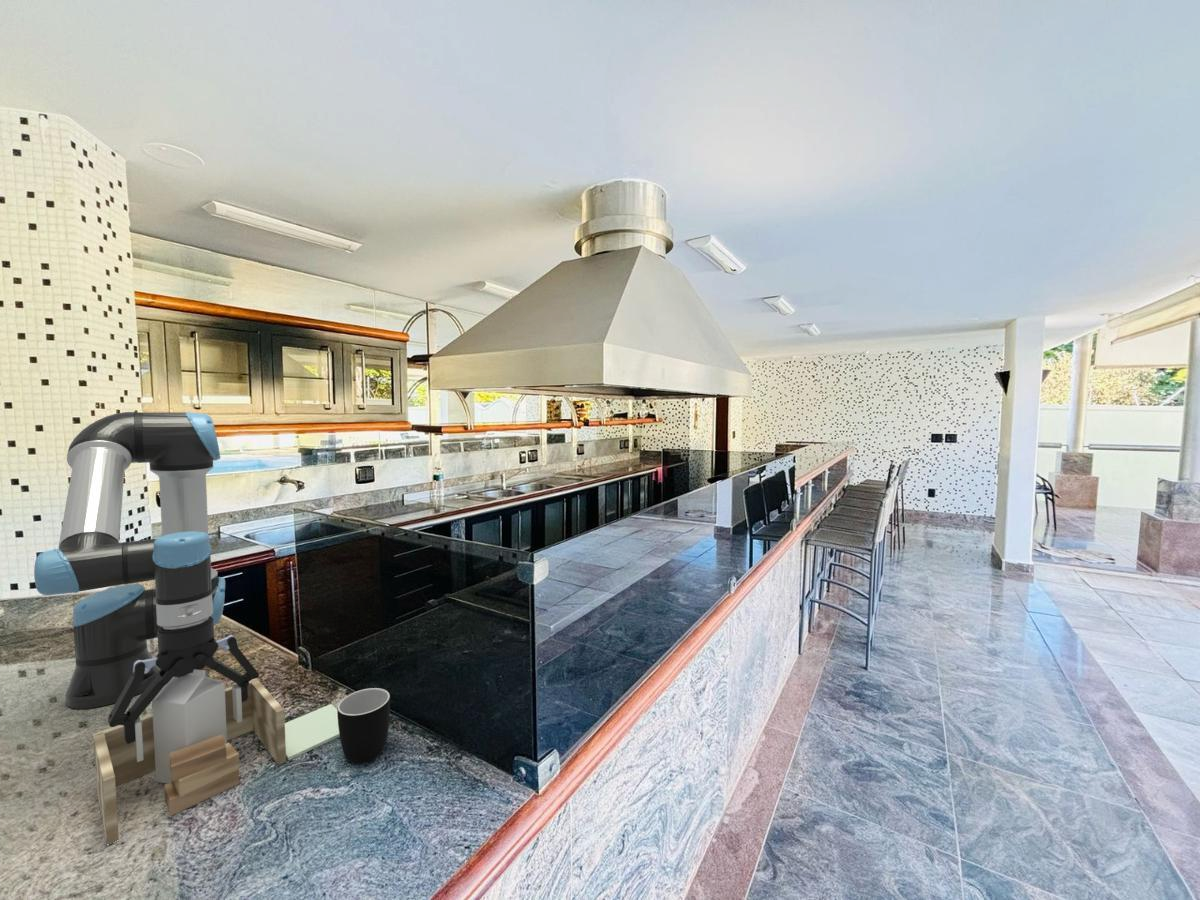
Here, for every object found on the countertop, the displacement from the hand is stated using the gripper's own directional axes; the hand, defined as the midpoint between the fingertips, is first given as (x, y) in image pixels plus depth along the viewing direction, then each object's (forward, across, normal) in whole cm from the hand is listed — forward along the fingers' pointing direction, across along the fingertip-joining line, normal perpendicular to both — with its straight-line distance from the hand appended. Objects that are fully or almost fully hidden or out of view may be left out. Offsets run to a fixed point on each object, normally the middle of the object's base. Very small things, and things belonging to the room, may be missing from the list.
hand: (191, 737), depth 86 cm
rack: (+6, 0, -1) cm, 6 cm away
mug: (+7, +22, -17) cm, 28 cm away
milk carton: (+7, 0, 0) cm, 7 cm away
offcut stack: (+6, 0, -7) cm, 10 cm away
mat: (+6, +18, -4) cm, 19 cm away
